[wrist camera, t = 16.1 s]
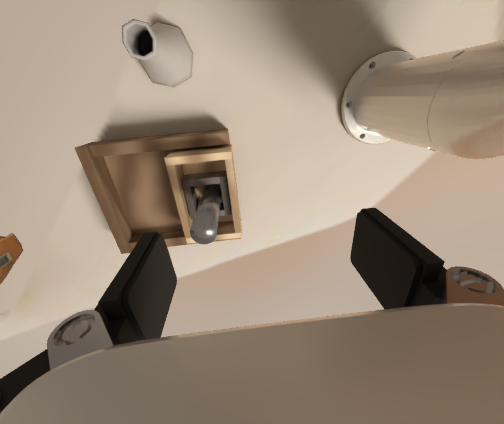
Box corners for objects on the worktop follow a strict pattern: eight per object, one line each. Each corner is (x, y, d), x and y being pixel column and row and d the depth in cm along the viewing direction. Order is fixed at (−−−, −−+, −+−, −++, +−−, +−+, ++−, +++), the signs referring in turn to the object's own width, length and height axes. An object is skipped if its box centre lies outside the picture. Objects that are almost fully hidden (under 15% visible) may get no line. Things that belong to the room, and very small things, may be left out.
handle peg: (220, 181, 36) (214, 220, 25) (223, 198, 38) (218, 242, 26) (201, 183, 36) (187, 223, 25) (205, 200, 38) (192, 245, 26)
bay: (228, 129, 35) (227, 133, 31) (240, 228, 43) (241, 240, 40) (91, 142, 34) (74, 147, 31) (131, 240, 43) (121, 253, 39)
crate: (231, 144, 35) (231, 151, 30) (241, 222, 41) (241, 237, 37) (173, 150, 34) (164, 158, 30) (191, 227, 41) (186, 243, 36)
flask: (149, 90, 32) (116, 88, 23) (129, 26, 28) (83, -5, 20) (199, 83, 32) (186, 78, 23) (186, 18, 29) (165, -17, 20)
